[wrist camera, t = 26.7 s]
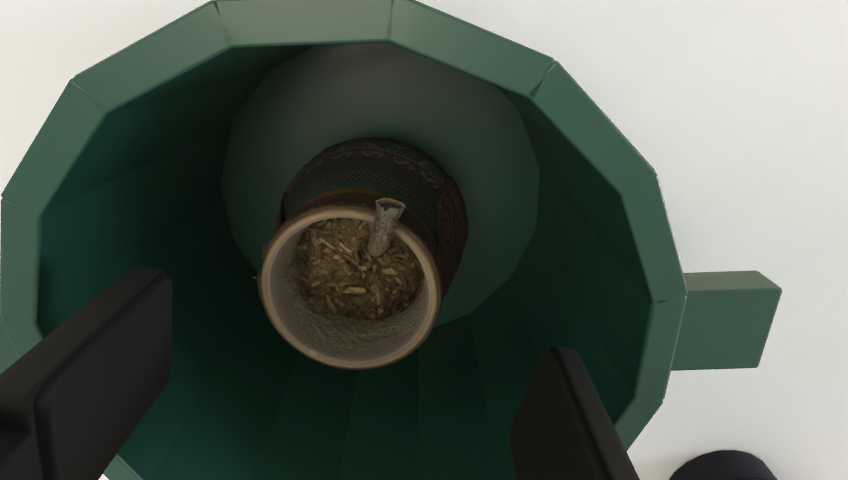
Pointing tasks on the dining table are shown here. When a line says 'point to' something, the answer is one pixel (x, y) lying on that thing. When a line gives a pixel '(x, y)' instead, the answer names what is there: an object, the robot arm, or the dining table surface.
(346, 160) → the mate gourd
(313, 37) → the pot
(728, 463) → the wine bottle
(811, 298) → the dining table surface
